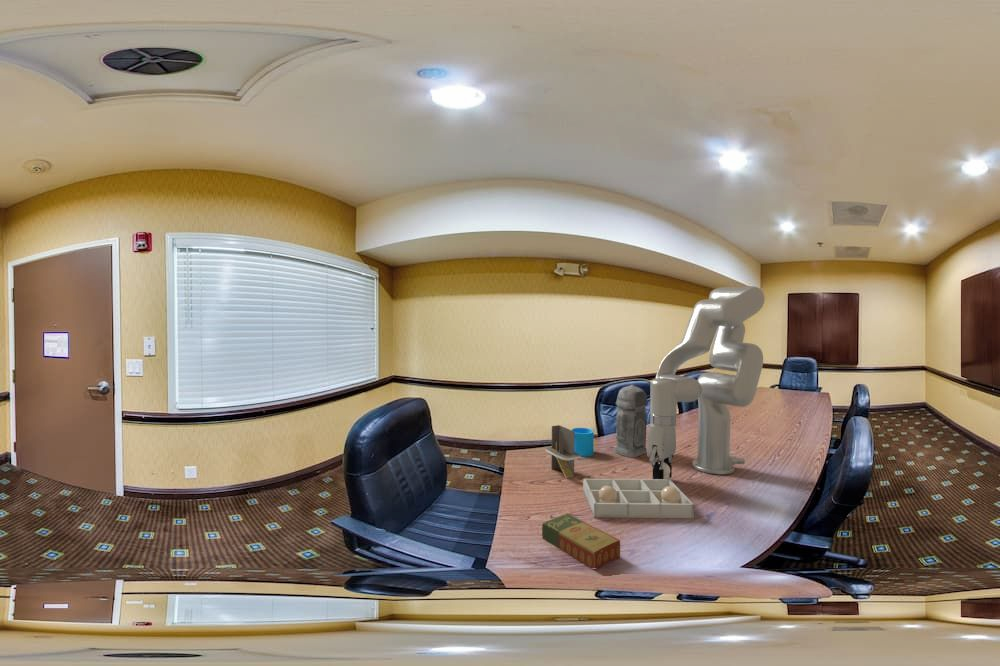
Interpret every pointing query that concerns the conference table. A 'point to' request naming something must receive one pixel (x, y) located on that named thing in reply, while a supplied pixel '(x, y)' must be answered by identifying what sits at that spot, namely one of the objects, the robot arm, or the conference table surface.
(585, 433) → the mug
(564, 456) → the toy chair
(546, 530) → the carton
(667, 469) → the loose egg
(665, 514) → the egg tray
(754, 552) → the conference table surface
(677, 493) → the egg in carton
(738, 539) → the conference table surface
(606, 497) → the egg in carton
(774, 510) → the conference table surface
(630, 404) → the figurine
